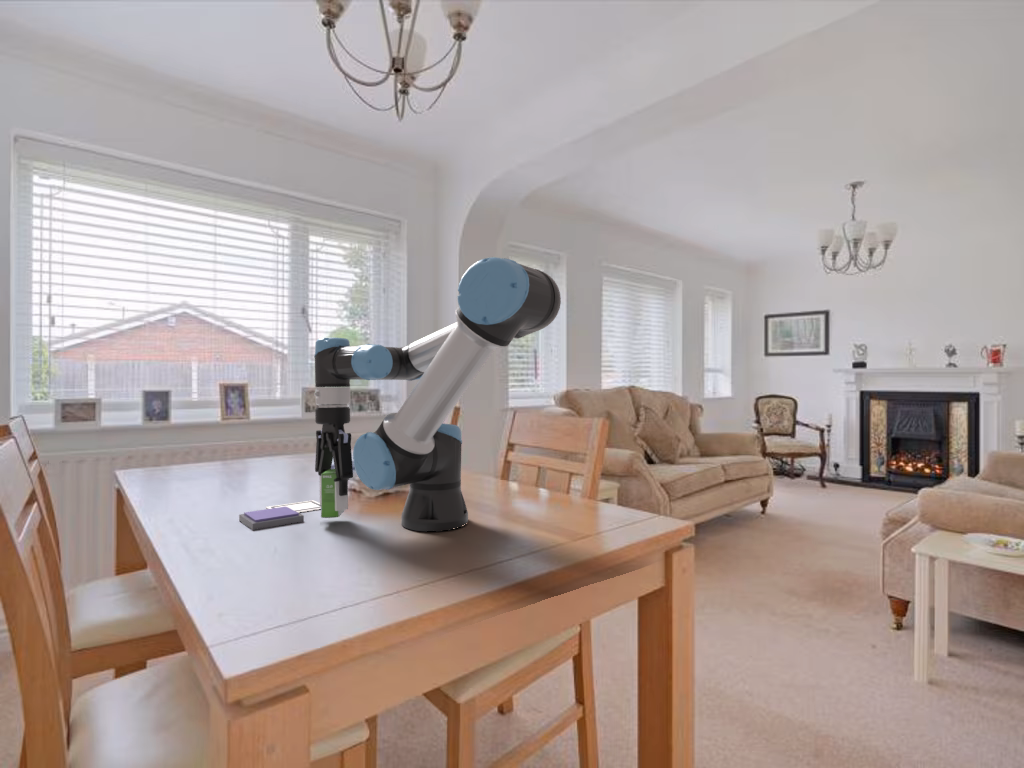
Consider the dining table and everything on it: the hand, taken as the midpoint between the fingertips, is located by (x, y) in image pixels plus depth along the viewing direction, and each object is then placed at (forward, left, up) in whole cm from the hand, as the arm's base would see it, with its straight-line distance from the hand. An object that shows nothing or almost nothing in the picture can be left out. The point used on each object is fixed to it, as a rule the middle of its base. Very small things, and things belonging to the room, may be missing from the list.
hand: (333, 506), depth 123 cm
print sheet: (+19, +1, -4) cm, 19 cm away
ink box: (0, 0, -2) cm, 2 cm away
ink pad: (+11, +10, -4) cm, 15 cm away
